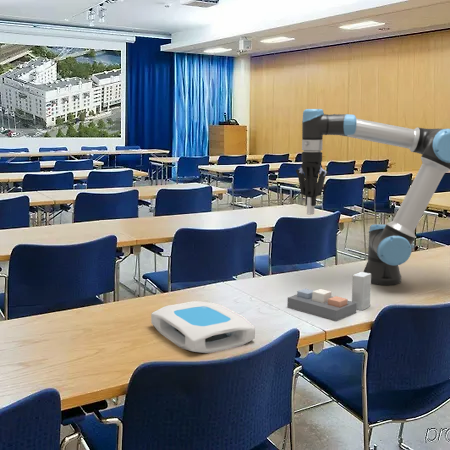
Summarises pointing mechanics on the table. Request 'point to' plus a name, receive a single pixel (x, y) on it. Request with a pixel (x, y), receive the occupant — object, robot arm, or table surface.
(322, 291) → the white key
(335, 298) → the terracotta key
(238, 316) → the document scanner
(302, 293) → the slate key
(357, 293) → the skincare box
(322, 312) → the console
